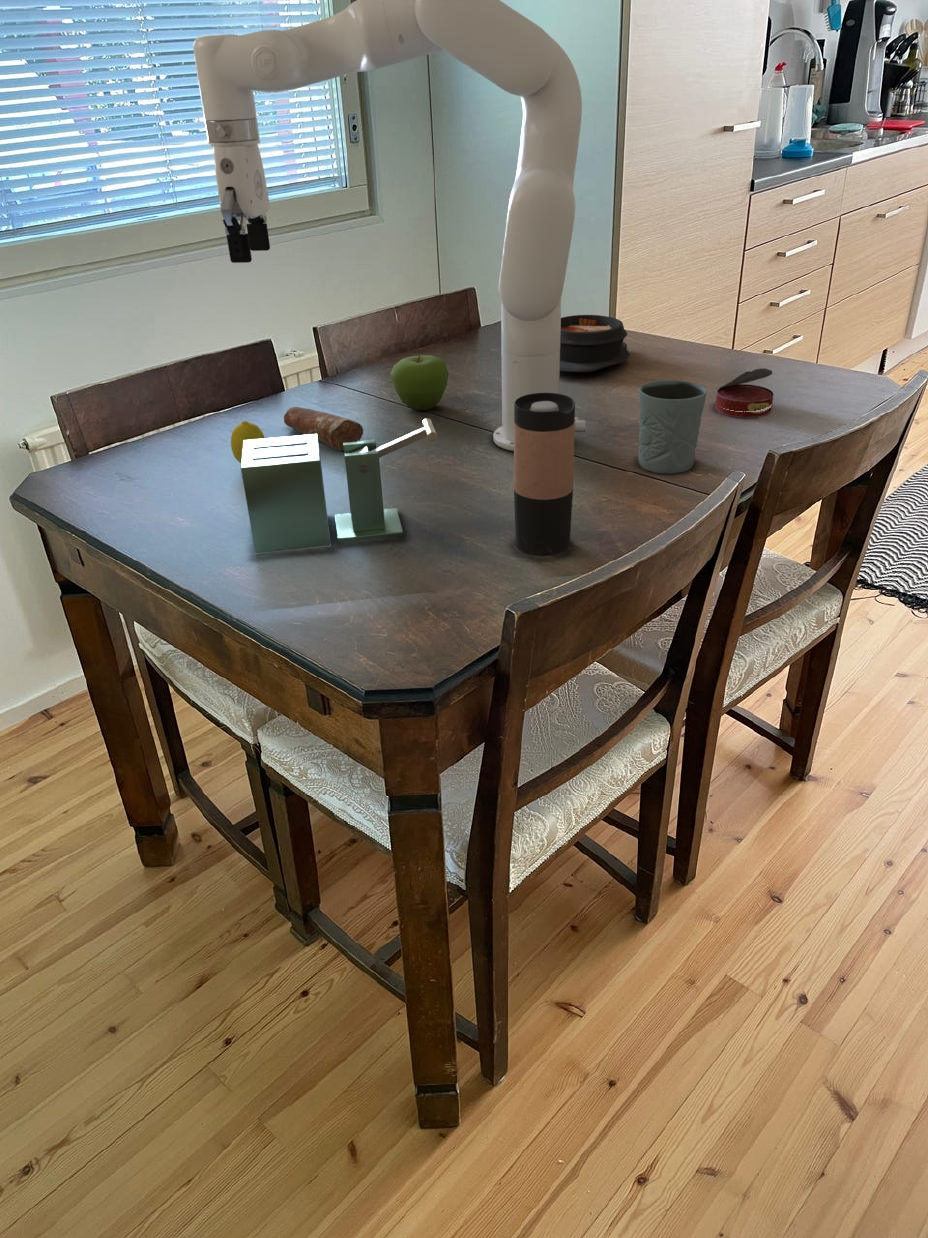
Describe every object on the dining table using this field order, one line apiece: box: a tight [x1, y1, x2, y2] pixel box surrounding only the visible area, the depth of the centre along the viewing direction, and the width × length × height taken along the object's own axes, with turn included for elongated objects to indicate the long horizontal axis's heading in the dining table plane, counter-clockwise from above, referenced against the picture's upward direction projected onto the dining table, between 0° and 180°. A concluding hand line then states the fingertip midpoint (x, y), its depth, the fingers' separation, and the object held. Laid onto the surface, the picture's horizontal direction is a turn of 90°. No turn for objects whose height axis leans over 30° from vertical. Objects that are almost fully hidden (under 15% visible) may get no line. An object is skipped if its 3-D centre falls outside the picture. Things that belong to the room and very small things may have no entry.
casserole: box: [560, 314, 631, 374], centre depth 193 cm, size 25×19×8 cm
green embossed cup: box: [638, 379, 708, 475], centre depth 144 cm, size 10×10×12 cm
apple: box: [390, 354, 450, 412], centre depth 172 cm, size 11×10×10 cm
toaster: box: [240, 434, 332, 556], centre depth 125 cm, size 10×10×13 cm
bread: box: [283, 406, 364, 451], centre depth 160 cm, size 6×19×6 cm, turn 39°
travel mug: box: [513, 393, 576, 557], centre depth 118 cm, size 8×8×20 cm
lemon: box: [230, 420, 265, 464], centre depth 149 cm, size 6×6×8 cm
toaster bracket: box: [333, 439, 404, 544], centre depth 127 cm, size 9×8×12 cm
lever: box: [352, 417, 438, 459], centre depth 124 cm, size 12×6×2 cm, turn 99°
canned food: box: [714, 367, 774, 419], centre depth 166 cm, size 11×10×10 cm
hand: (251, 255), depth 145 cm, fingers open, 9 cm apart
